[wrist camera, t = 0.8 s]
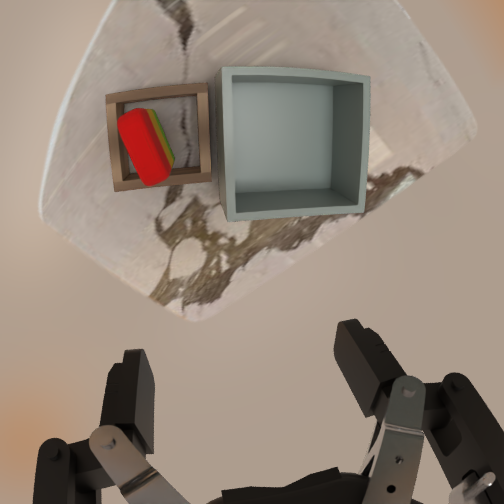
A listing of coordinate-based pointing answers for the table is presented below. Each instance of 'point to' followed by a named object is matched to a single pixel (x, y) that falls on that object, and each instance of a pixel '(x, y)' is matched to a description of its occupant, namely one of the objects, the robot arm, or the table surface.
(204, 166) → the collar
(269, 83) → the bin
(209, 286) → the table surface
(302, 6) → the table surface
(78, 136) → the table surface
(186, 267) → the table surface
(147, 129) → the popsicle
